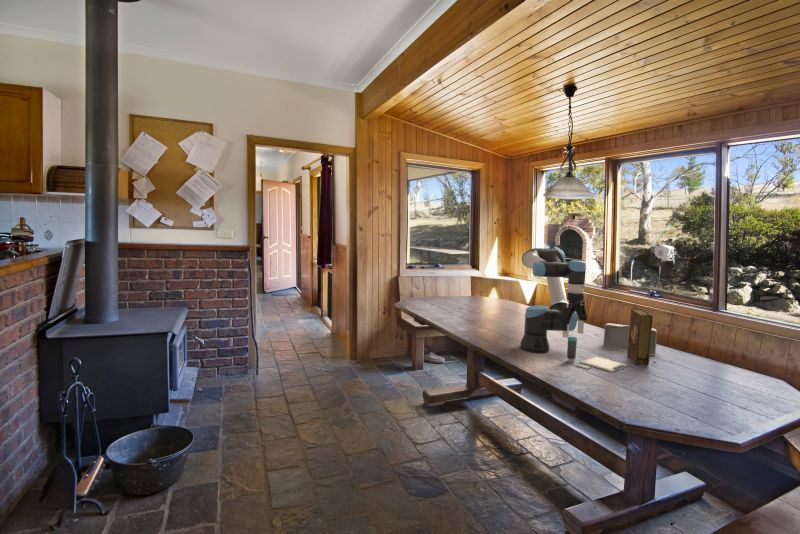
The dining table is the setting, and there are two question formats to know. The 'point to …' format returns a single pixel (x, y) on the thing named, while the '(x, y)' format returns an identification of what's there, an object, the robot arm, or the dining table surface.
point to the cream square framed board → (603, 364)
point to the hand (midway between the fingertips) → (572, 335)
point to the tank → (623, 338)
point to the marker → (571, 349)
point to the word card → (583, 366)
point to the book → (640, 336)
